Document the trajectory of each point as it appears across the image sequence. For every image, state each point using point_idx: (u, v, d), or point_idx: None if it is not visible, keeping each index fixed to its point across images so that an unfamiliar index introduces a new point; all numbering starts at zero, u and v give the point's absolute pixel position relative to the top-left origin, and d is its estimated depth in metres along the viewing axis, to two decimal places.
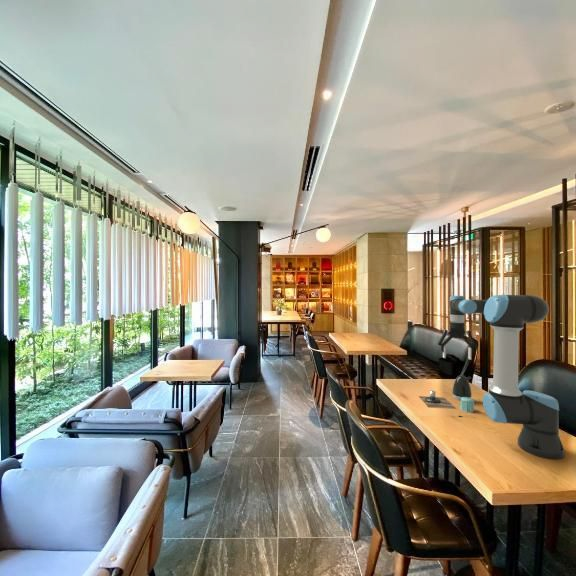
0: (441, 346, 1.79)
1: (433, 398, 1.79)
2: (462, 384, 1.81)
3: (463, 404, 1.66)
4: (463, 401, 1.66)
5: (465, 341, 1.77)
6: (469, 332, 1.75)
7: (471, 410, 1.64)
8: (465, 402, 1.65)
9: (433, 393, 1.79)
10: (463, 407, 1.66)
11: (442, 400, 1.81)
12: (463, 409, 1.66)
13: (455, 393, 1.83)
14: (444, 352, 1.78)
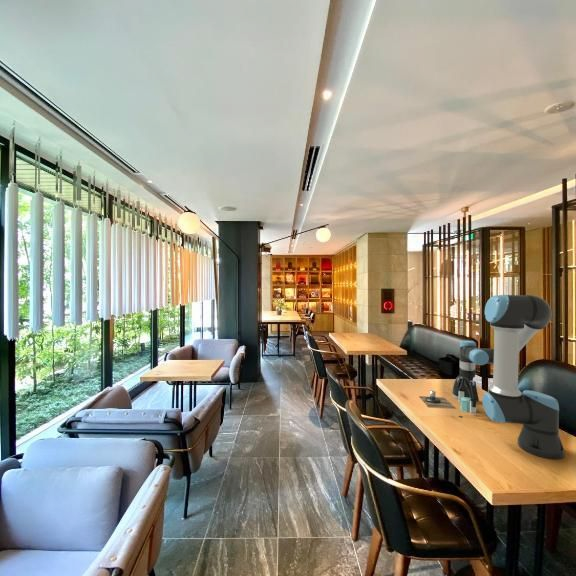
0: None
1: (433, 398, 1.79)
2: None
3: (463, 404, 1.66)
4: (463, 401, 1.66)
5: None
6: (470, 382, 1.61)
7: None
8: (465, 402, 1.65)
9: (433, 393, 1.79)
10: (463, 407, 1.66)
11: (442, 400, 1.81)
12: (463, 409, 1.66)
13: (455, 393, 1.83)
14: None
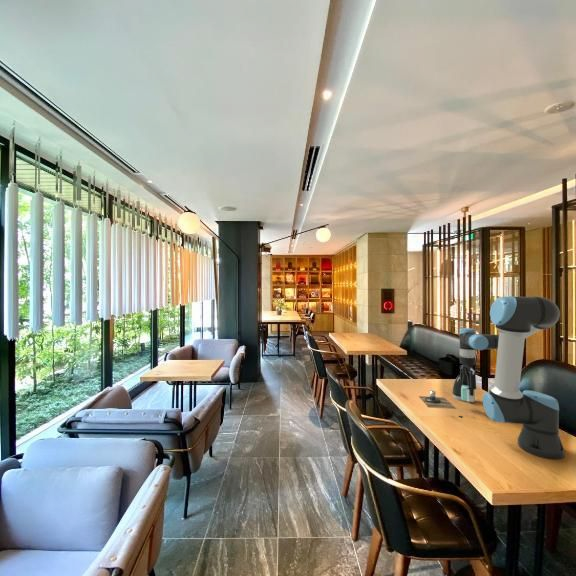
0: (462, 384, 1.72)
1: (433, 398, 1.79)
2: None
3: (463, 392, 1.66)
4: (464, 389, 1.65)
5: None
6: (470, 371, 1.61)
7: None
8: (465, 390, 1.65)
9: (433, 393, 1.79)
10: (464, 395, 1.65)
11: (442, 400, 1.81)
12: (464, 397, 1.65)
13: (455, 393, 1.83)
14: None
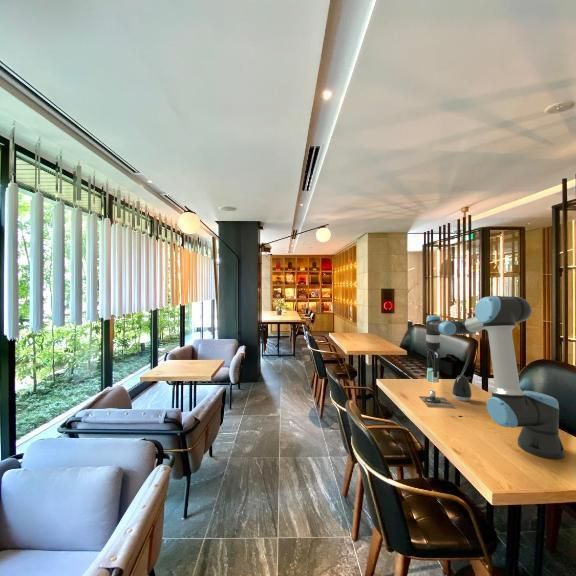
0: None
1: (433, 398, 1.79)
2: (462, 384, 1.81)
3: (429, 374, 1.80)
4: (429, 371, 1.80)
5: None
6: (434, 355, 1.75)
7: None
8: (430, 372, 1.79)
9: (433, 393, 1.79)
10: (429, 376, 1.80)
11: (442, 400, 1.81)
12: (429, 378, 1.80)
13: (455, 393, 1.83)
14: None
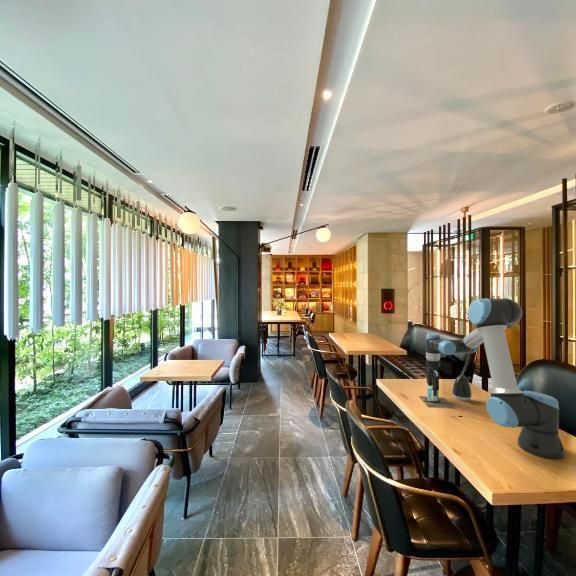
0: (428, 384, 1.86)
1: None
2: (462, 384, 1.81)
3: (428, 392, 1.80)
4: (429, 389, 1.79)
5: None
6: (434, 374, 1.75)
7: None
8: (430, 390, 1.79)
9: None
10: (428, 394, 1.80)
11: (442, 400, 1.81)
12: (428, 396, 1.80)
13: (455, 393, 1.83)
14: None
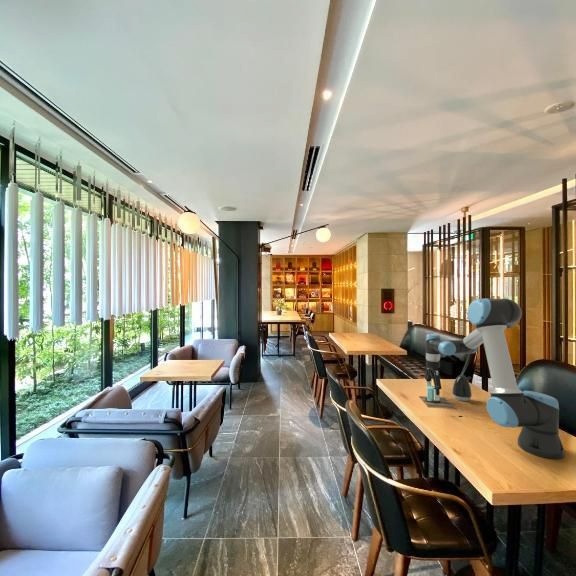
0: None
1: None
2: (462, 384, 1.81)
3: (428, 392, 1.80)
4: (429, 389, 1.79)
5: None
6: (434, 372, 1.75)
7: None
8: (430, 390, 1.79)
9: None
10: (428, 394, 1.80)
11: (442, 400, 1.81)
12: (428, 396, 1.80)
13: (455, 393, 1.83)
14: (426, 386, 1.88)
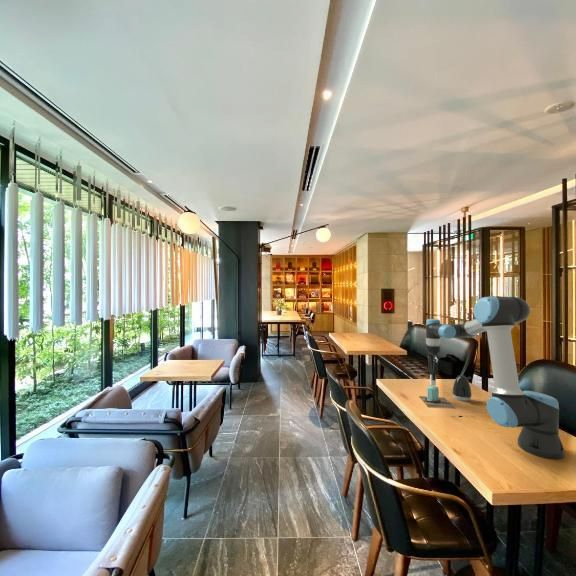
0: None
1: None
2: (462, 384, 1.81)
3: (428, 392, 1.80)
4: (429, 389, 1.79)
5: None
6: (434, 360, 1.75)
7: (436, 397, 1.78)
8: (430, 390, 1.79)
9: None
10: (428, 394, 1.80)
11: (442, 400, 1.81)
12: (428, 396, 1.80)
13: (455, 393, 1.83)
14: (430, 379, 1.81)
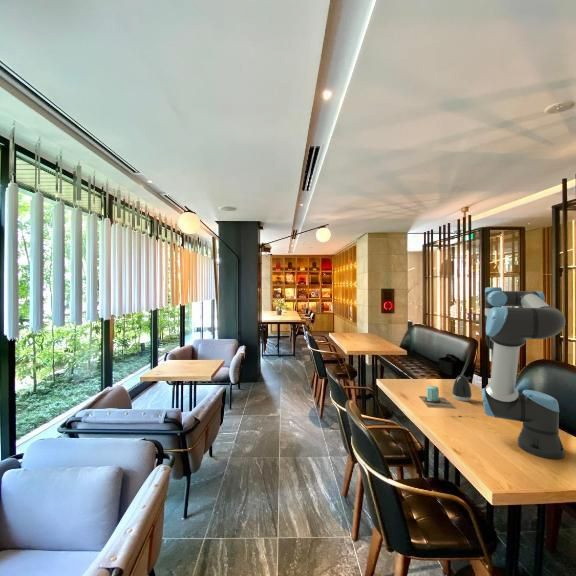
0: None
1: None
2: (462, 384, 1.81)
3: (428, 392, 1.80)
4: (429, 389, 1.79)
5: None
6: None
7: (436, 397, 1.78)
8: (430, 390, 1.79)
9: None
10: (428, 394, 1.80)
11: (442, 400, 1.81)
12: (428, 396, 1.80)
13: (455, 393, 1.83)
14: None
